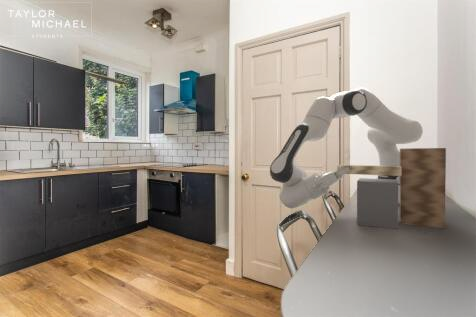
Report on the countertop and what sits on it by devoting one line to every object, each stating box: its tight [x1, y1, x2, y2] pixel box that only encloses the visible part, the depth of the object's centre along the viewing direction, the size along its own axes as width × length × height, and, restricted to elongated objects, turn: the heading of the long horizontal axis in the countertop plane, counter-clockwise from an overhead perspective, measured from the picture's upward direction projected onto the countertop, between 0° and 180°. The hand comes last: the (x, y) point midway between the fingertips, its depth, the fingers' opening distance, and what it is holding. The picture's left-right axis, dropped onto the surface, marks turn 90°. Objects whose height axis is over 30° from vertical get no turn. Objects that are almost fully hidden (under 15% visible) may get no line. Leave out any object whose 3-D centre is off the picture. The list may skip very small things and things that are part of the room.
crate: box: [356, 177, 399, 230], centre depth 88 cm, size 12×10×15 cm
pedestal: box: [398, 147, 447, 229], centre depth 88 cm, size 12×10×26 cm
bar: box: [336, 164, 402, 176], centre depth 89 cm, size 20×3×3 cm, turn 59°
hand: (350, 168), depth 92 cm, fingers closed on bar, 3 cm apart
